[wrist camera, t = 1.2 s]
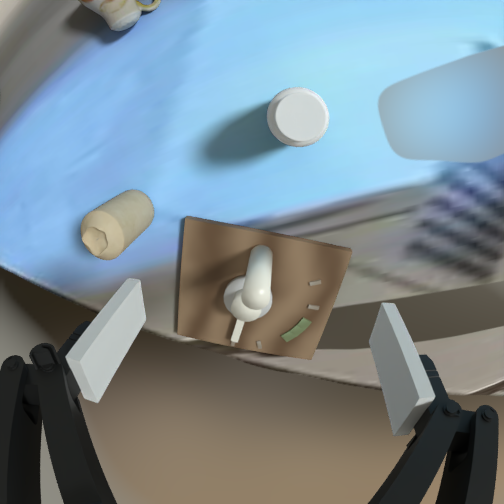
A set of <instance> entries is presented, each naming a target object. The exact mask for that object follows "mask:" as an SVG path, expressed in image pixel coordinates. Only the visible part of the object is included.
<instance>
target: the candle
mask: <svg viewBox="0 0 504 504" xmlns="http://www.w3.org/2000/svg"><path fill="white" fill-rule="evenodd" d="M153 218H154V207H153V204H152V202H151V200H150V199H149V197H148V196H147V195H146V194H145V193H143V192H141V191H139V190H127V191H125V192H123V193H121V194H119V195H118V196H116V197H114V198H112V199H111V200H109V201H107V202H106V203H104V204H102V205H101V206H99V207H98V208H96V209H94V210H93V211H91V212H90V213H88V214H87V215H86V216H85V217H84V219H83V220H82V223H81V237H82V241H83V243H84V245H85V246H86V248H87V249H88V251H89V252H90V253H92V254H93V255H94V256H96V257H97V258H100V259H103V260H112V259H115V258H116V257H118V256H119V255H120V254H121V253H122V252H123V251H124V250H125V249H126V248H127V247H128V246H129V245H130V244H131V243H132V242H133V241H134V240H135V239H136V238H137V237H138V236H139V235H140V234H141V233H143V232H144V231H145V230H146V229H147V228H148V227H149V225H150V224H151V222H152V221H153Z"/></svg>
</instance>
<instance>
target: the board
mask: <svg viewBox="0 0 504 504" xmlns="http://www.w3.org/2000/svg"><path fill="white" fill-rule="evenodd" d="M258 245H265V246H267V247H269V248H270V249H271V251H272V253H273V259H272V274H271V291H272V305H271V308H270V310H269V311H268V312H267V313H266V314H265V315H264V316H262V317H260V318H257V319H256V320H254V321H250V322H244V325H243V328H242V331H241V334H240V337H239V340H238V343H237V342H233V341H231V337H232V334H233V331H234V328H235V324H236V321H237V318H235V317H234V316H233V314H232V313H231V312H230V311H229V310H228V309H227V308H226V306H225V303H224V293H225V289H226V287H227V285H228V283H229V282H230V281H231V280H233V279H234V278H236V277H239V276H243V275H246V272H247V267H248V262H249V258H250V253H251V250H252V249H253V248H254V247H255V246H258ZM351 255H352V250H351V249H350V248H346V247H341V246H336V245H332V244H327V243H322V242H318V241H313V240H308V239H303V238H298V237H293V236H289V235H284V234H279V233H274V232H269V231H264V230H259V229H254V228H249V227H244V226H239V225H233V224H228V223H223V222H218V221H213V220H207V219H202V218H197V217H191V216H187V217H186V218H185V226H184V237H183V248H182V261H181V275H180V290H179V308H178V331H177V334H178V335H182V336H186V337H190V338H195V339H199V340H204V341H208V342H213V343H217V344H222V345H227V346H232V347H237V348H242V349H247V350H253V351H258V352H264V353H269V354H275V355H281V356H288V357H294V358H301V359H308V360H311V359H312V357H313V354H314V352H315V350H316V347H317V345H318V342H319V340H320V338H321V335H322V333H323V330H324V328H325V325H326V323H327V320H328V318H329V315H330V313H331V310H332V307H333V305H334V302H335V300H336V297H337V294H338V291H339V289H340V286H341V283H342V280H343V278H344V275H345V272H346V269H347V266H348V263H349V260H350V258H351Z"/></svg>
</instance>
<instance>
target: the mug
mask: <svg viewBox="0 0 504 504" xmlns="http://www.w3.org/2000/svg"><path fill="white" fill-rule="evenodd" d="M79 2H80V3H82V4H83V5H84V6H86V7H87V8H89V9H91V10H93V11H94V12H96V13H98V14H99V15H101V16H102V17H103V18H104V19H105V21H106V22H107V24H108V25H109V27H110V29H111V30H115V31H122V30H125V29H128V28H129V27H131V26H133V25H134V24H135V23H136V22H137V21H138V20H139V18H140V15H141V11H153V10H155V9H157V7H158V6H159V4H160V2H161V0H154V2H153V3H152V4H149V5H143V4H142V3H140V2H139V1H137V0H79Z"/></svg>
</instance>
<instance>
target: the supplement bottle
mask: <svg viewBox="0 0 504 504" xmlns="http://www.w3.org/2000/svg"><path fill="white" fill-rule="evenodd" d="M267 122H268V126H269V129H270V131H271V132H272V134H273V135H274V136H275V137H276V138H277V139H278V140H279V141H281V142H282V143H284V144H287V145H289V146H294V147H303V146H308V145H311V144H313V143H315V142H317V141H318V140H319V139H320V138H321V137H322V136H323V135H324V134H325V132H326V130H327V127H328V124H329V112H328V108H327V106H326V104H325V102H324V101H323V99H322V98H321V97H320V96H319V95H318V94H316V93H315V92H313V91H311V90H309V89H306V88H302V87H293V88H288V89H285V90H283V91H281V92H279V93H278V94H277V95H276V96H275V97H274V98H273V99H272V100H271V102H270V104H269V106H268V110H267Z"/></svg>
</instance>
